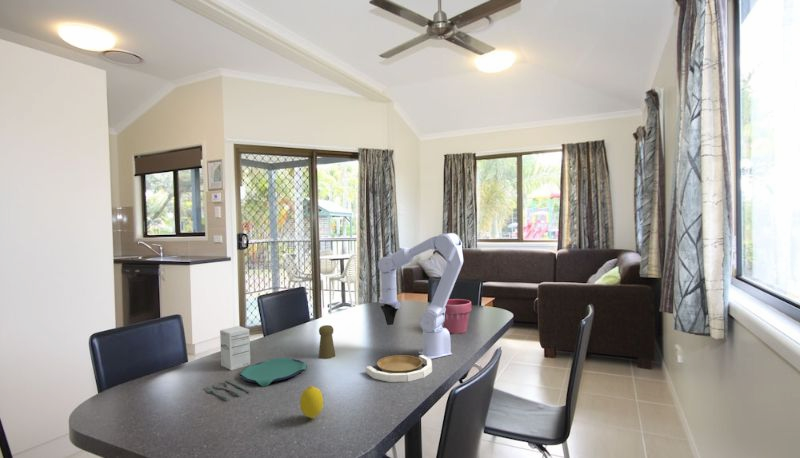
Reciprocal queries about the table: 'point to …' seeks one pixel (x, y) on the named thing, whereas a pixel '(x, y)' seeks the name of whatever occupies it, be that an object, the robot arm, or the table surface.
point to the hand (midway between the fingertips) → (390, 324)
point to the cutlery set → (264, 374)
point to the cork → (326, 342)
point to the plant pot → (457, 315)
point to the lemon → (311, 402)
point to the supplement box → (235, 347)
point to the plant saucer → (399, 364)
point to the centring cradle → (402, 376)
